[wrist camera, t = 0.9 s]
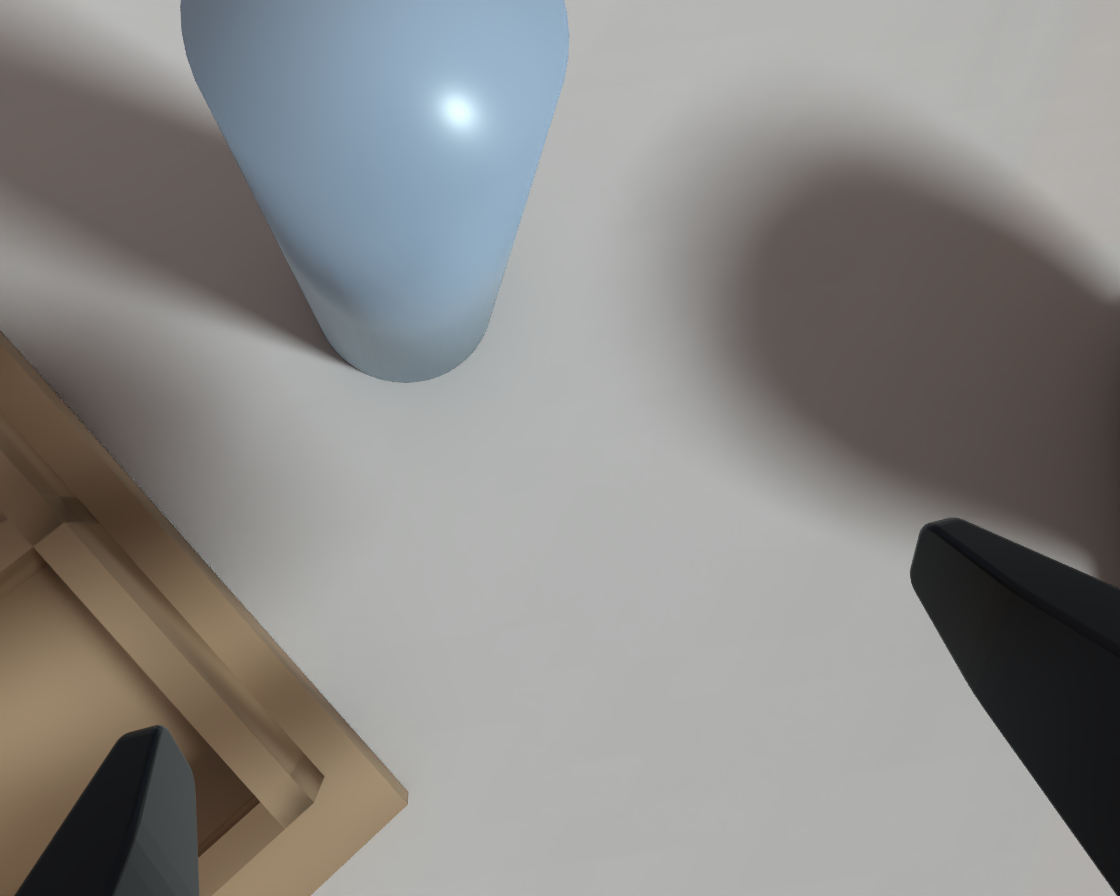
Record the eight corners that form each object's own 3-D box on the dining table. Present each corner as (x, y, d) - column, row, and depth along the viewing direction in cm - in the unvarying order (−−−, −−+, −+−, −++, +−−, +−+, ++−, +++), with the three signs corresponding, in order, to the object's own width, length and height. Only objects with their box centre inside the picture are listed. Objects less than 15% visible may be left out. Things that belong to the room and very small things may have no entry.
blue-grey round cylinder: (493, 383, 23) (573, 212, 11) (313, 382, 22) (176, 196, 10) (490, 214, 23) (564, -135, 11) (314, 208, 23) (184, -175, 10)
